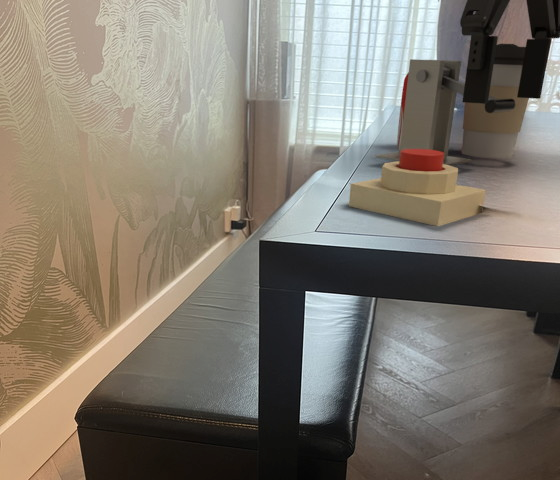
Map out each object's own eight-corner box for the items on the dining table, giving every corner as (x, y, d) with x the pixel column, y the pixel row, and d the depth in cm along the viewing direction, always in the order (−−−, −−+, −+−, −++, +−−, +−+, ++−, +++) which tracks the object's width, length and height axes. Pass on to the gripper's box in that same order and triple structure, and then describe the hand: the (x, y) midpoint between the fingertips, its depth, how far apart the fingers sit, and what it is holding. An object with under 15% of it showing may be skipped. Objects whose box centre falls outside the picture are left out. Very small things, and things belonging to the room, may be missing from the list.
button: (449, 172, 57) (452, 152, 56) (426, 176, 55) (429, 156, 54) (413, 166, 60) (415, 147, 59) (389, 170, 57) (391, 151, 56)
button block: (482, 213, 58) (490, 170, 56) (437, 227, 53) (444, 179, 51) (395, 196, 64) (400, 156, 62) (348, 206, 59) (351, 164, 57)
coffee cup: (517, 168, 83) (542, 43, 76) (450, 162, 85) (468, 41, 78) (518, 159, 90) (541, 44, 83) (456, 154, 93) (473, 43, 86)
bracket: (470, 168, 81) (487, 61, 75) (438, 175, 76) (454, 60, 70) (407, 158, 88) (419, 59, 82) (374, 164, 82) (384, 58, 76)
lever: (510, 117, 74) (519, 97, 73) (490, 119, 71) (500, 98, 70) (432, 81, 80) (439, 62, 78) (410, 82, 77) (417, 62, 75)
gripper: (554, -101, 72) (520, 94, 82) (443, -145, 57) (418, 103, 66) (620, -111, 68) (576, 97, 78) (520, -163, 52) (480, 107, 62)
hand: (503, 100), depth 72 cm, fingers open, 13 cm apart
